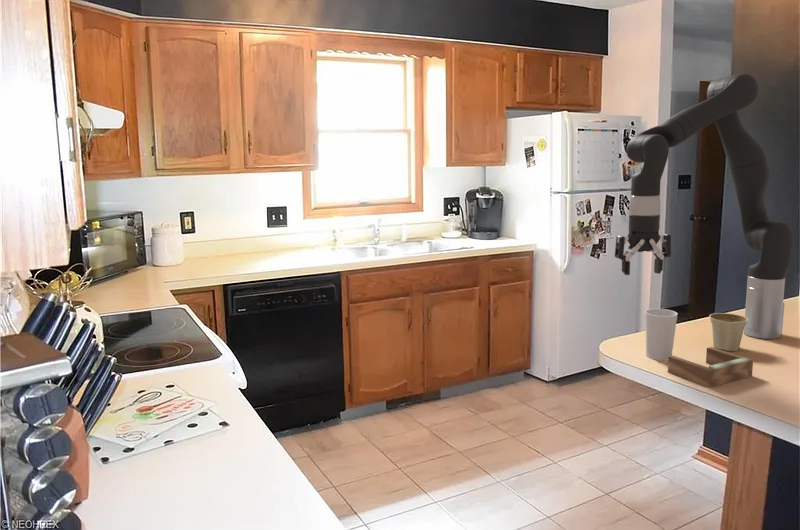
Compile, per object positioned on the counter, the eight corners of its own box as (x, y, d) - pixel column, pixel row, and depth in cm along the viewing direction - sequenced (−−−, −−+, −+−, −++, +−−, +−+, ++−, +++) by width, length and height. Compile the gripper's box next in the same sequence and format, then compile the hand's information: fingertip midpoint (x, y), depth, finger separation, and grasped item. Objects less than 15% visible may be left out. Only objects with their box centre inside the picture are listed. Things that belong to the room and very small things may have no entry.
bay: (709, 361, 157) (711, 345, 156) (752, 375, 147) (753, 358, 146) (667, 372, 151) (668, 354, 150) (708, 387, 141) (709, 369, 140)
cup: (648, 349, 168) (650, 307, 166) (679, 355, 163) (681, 311, 161) (638, 357, 162) (640, 313, 160) (670, 363, 157) (672, 318, 155)
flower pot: (754, 350, 165) (756, 319, 163) (728, 355, 162) (730, 323, 160) (724, 341, 174) (726, 311, 172) (699, 345, 170) (701, 315, 169)
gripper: (663, 210, 164) (660, 270, 167) (611, 212, 163) (609, 272, 166) (678, 213, 157) (675, 275, 159) (624, 215, 155) (622, 277, 158)
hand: (641, 273), depth 162 cm, fingers open, 8 cm apart
